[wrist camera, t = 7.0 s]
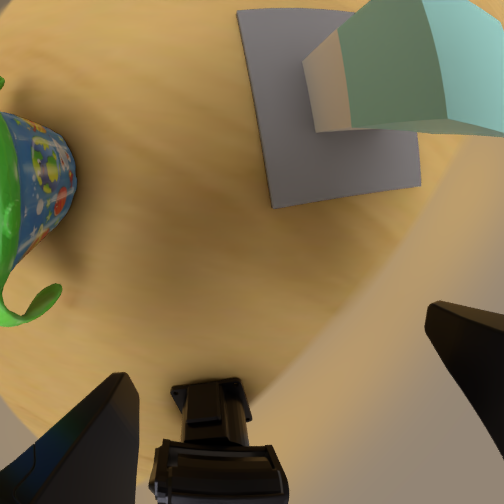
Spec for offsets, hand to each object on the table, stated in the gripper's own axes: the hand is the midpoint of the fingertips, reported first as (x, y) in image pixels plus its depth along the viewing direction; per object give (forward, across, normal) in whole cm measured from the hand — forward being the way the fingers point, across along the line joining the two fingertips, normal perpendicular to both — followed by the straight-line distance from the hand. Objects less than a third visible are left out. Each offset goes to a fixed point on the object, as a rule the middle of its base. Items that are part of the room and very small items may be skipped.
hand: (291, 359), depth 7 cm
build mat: (+12, -8, -9) cm, 17 cm away
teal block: (+6, -8, -8) cm, 13 cm away
